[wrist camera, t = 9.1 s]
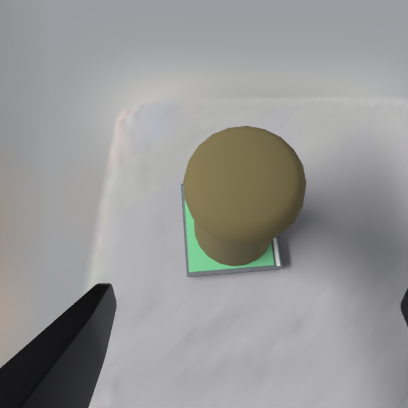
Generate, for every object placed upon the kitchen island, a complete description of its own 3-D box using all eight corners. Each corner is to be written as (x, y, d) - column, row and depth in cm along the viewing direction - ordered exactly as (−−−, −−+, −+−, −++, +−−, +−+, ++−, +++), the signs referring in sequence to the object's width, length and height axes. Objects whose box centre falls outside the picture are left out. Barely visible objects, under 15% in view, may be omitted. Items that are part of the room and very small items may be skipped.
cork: (274, 189, 22) (326, 104, 11) (273, 269, 20) (332, 258, 10) (197, 185, 22) (175, 99, 12) (190, 263, 21) (158, 245, 10)
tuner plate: (280, 268, 21) (283, 268, 20) (188, 276, 21) (186, 276, 20) (267, 179, 23) (269, 175, 22) (182, 187, 23) (180, 183, 22)
